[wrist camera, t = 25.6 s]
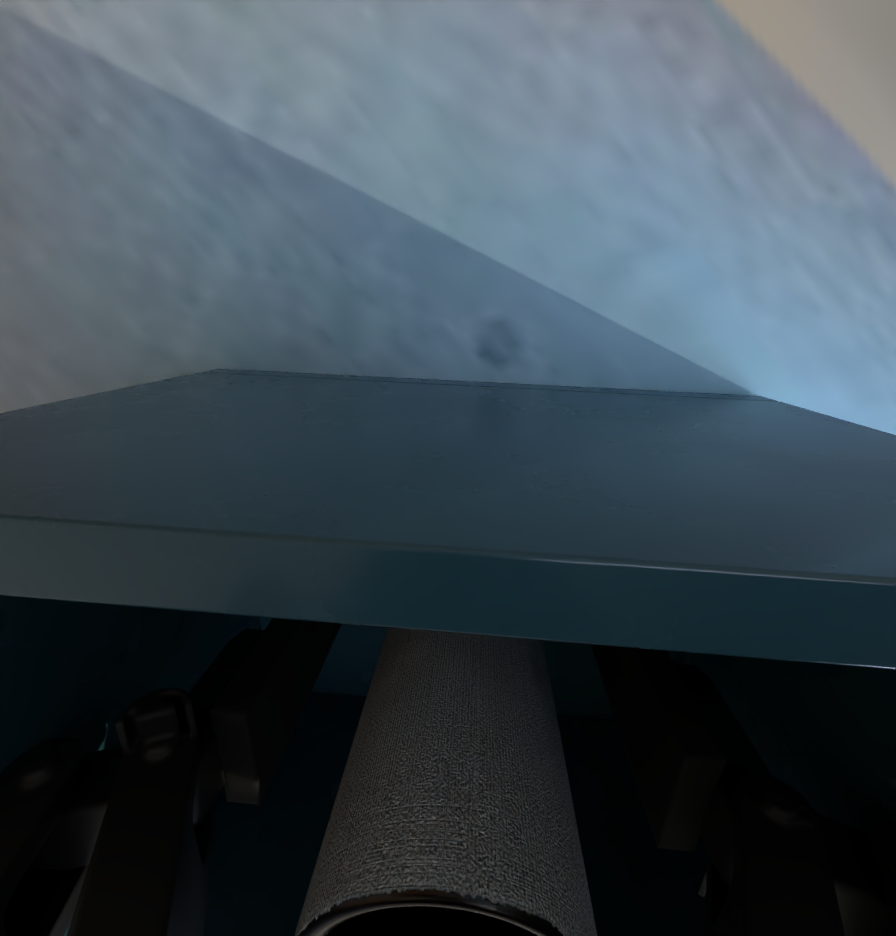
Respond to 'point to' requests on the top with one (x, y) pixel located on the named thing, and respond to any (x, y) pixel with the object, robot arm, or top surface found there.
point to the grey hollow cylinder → (453, 801)
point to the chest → (455, 585)
